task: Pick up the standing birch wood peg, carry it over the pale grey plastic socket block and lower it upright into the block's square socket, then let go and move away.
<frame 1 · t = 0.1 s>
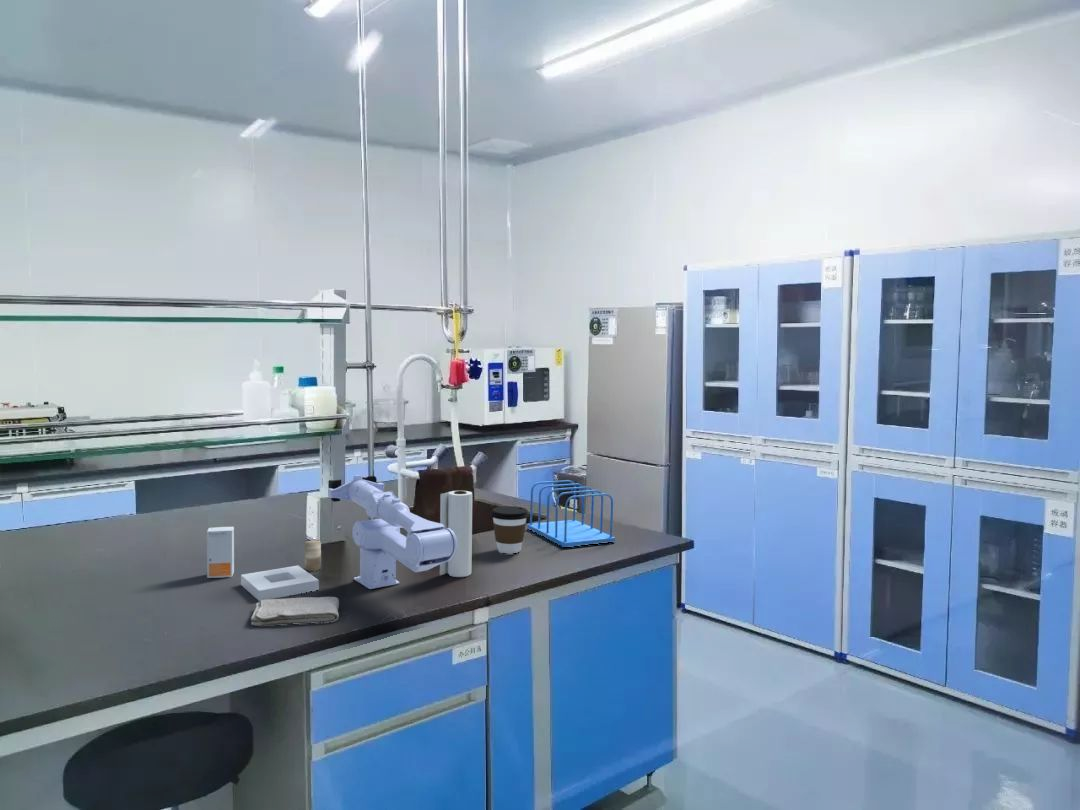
hand: (343, 482, 209), 22 cm above the lab bench, tool horizontal, fingers open, 7 cm apart
file sorter: (569, 537, 243), on the lab bench
coffee cup: (509, 552, 225), on the lab bench
birch peg: (313, 569, 205), on the lab bench
paper towel roll: (457, 574, 203), on the lab bench
skincare box: (221, 576, 198), on the lab bench
socket block: (279, 587, 190), on the lab bench
washcloth: (296, 618, 172), on the lab bench
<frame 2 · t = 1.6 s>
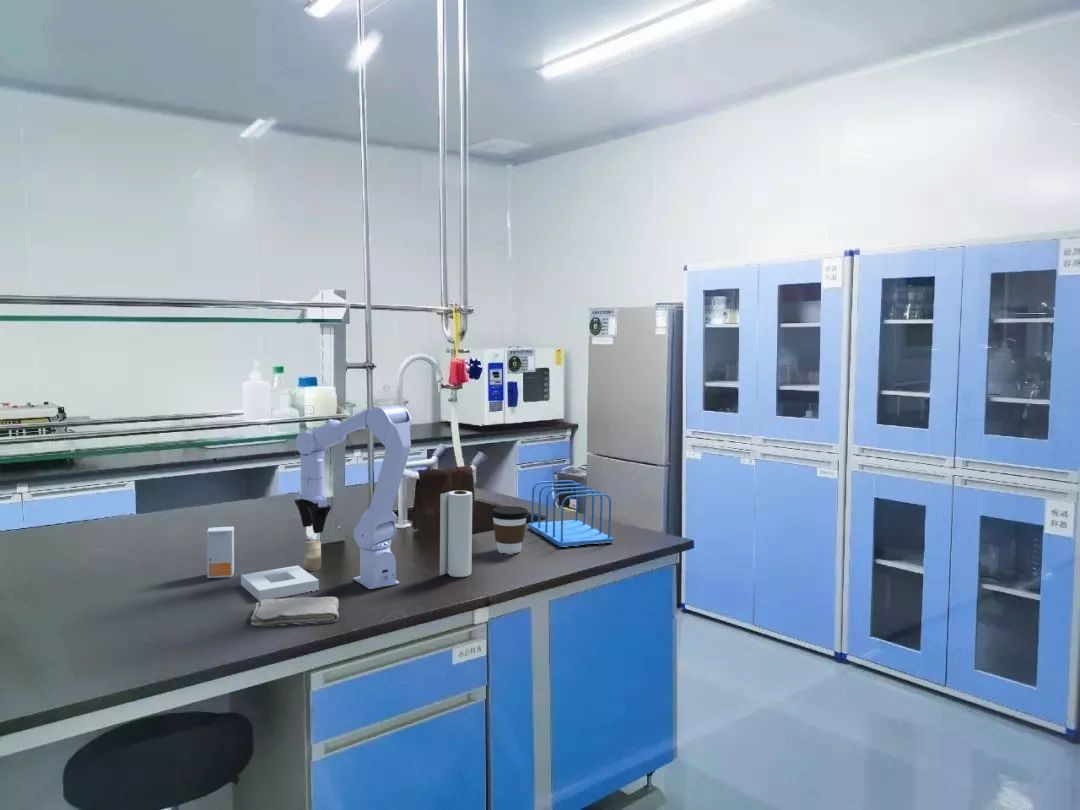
hand: (312, 529, 204), 10 cm above the lab bench, tool pointing down, fingers open, 7 cm apart
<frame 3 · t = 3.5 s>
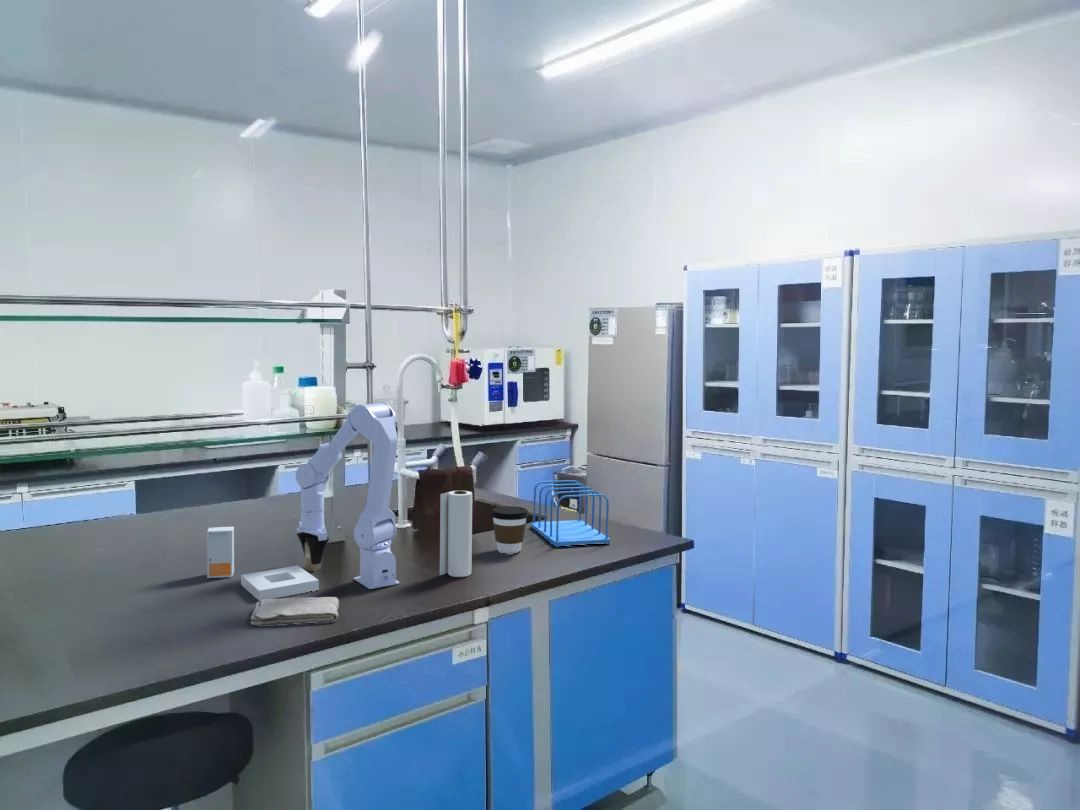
hand: (312, 561, 205), 2 cm above the lab bench, tool pointing down, fingers closed on birch peg, 4 cm apart
birch peg: (312, 568, 205), on the lab bench, touching gripper
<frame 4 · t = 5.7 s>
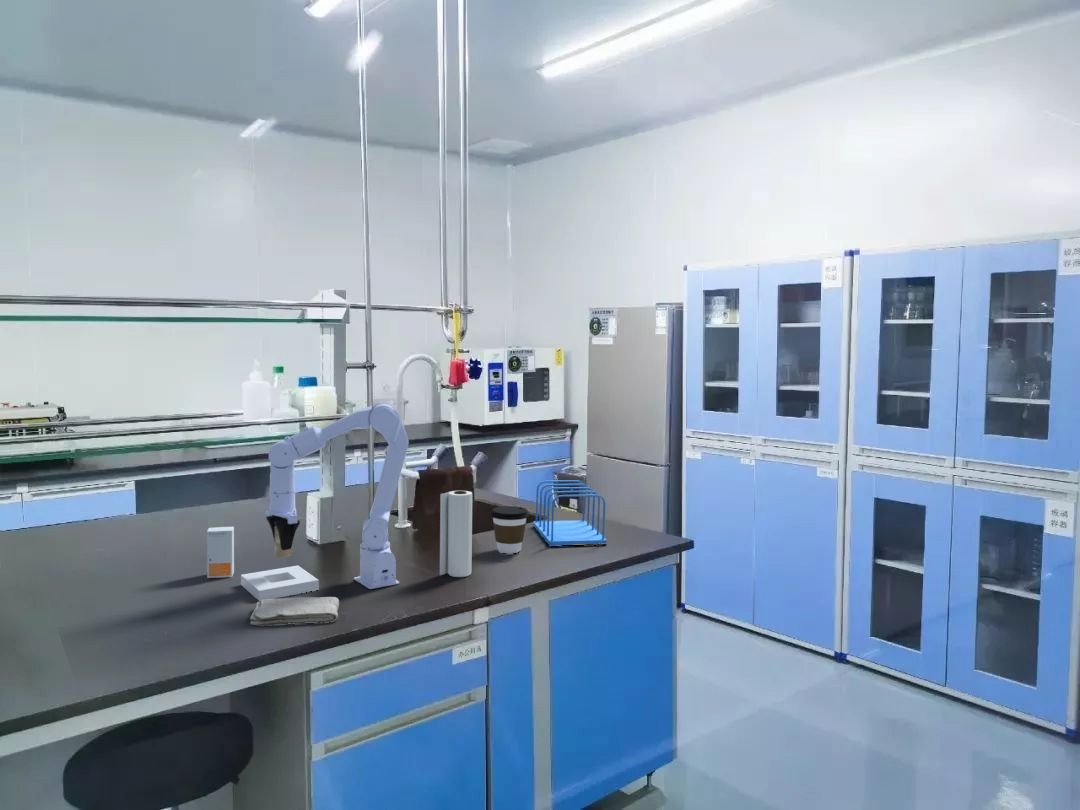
hand: (283, 547, 191), 9 cm above the lab bench, tool pointing down, fingers closed on birch peg, 4 cm apart
birch peg: (283, 554, 191), point 8 cm above the lab bench, touching gripper
when the fingers open (3 cm above the lab bench, at t = 7.8 s): birch peg drops 1 cm, resting in socket block.
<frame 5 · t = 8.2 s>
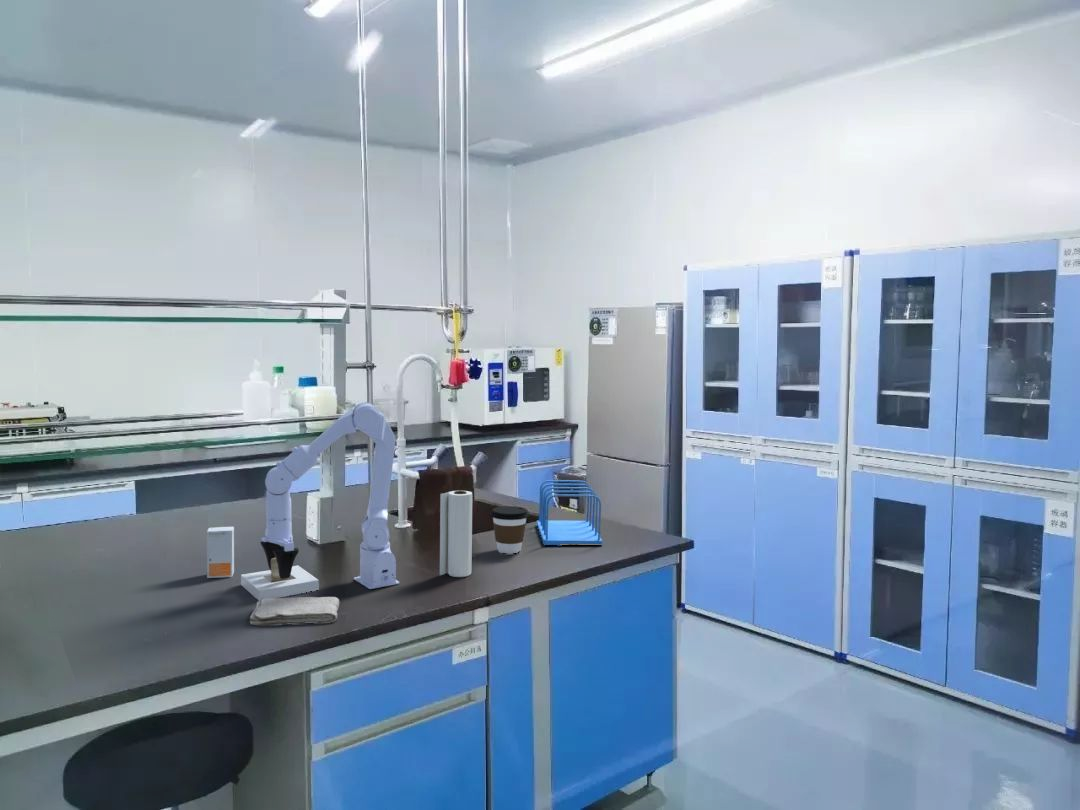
hand: (279, 573, 190), 3 cm above the lab bench, tool pointing down, fingers open, 7 cm apart
birch peg: (280, 587, 190), resting in socket block
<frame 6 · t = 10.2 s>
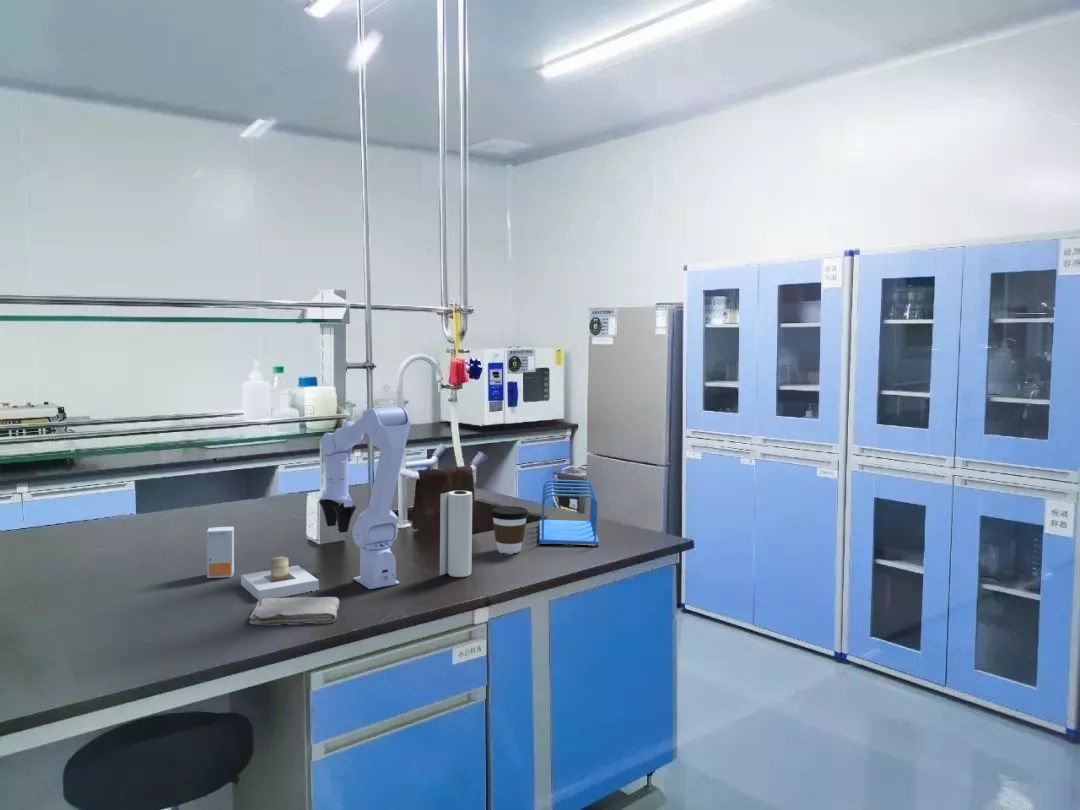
hand: (337, 528, 209), 9 cm above the lab bench, tool pointing down, fingers open, 7 cm apart
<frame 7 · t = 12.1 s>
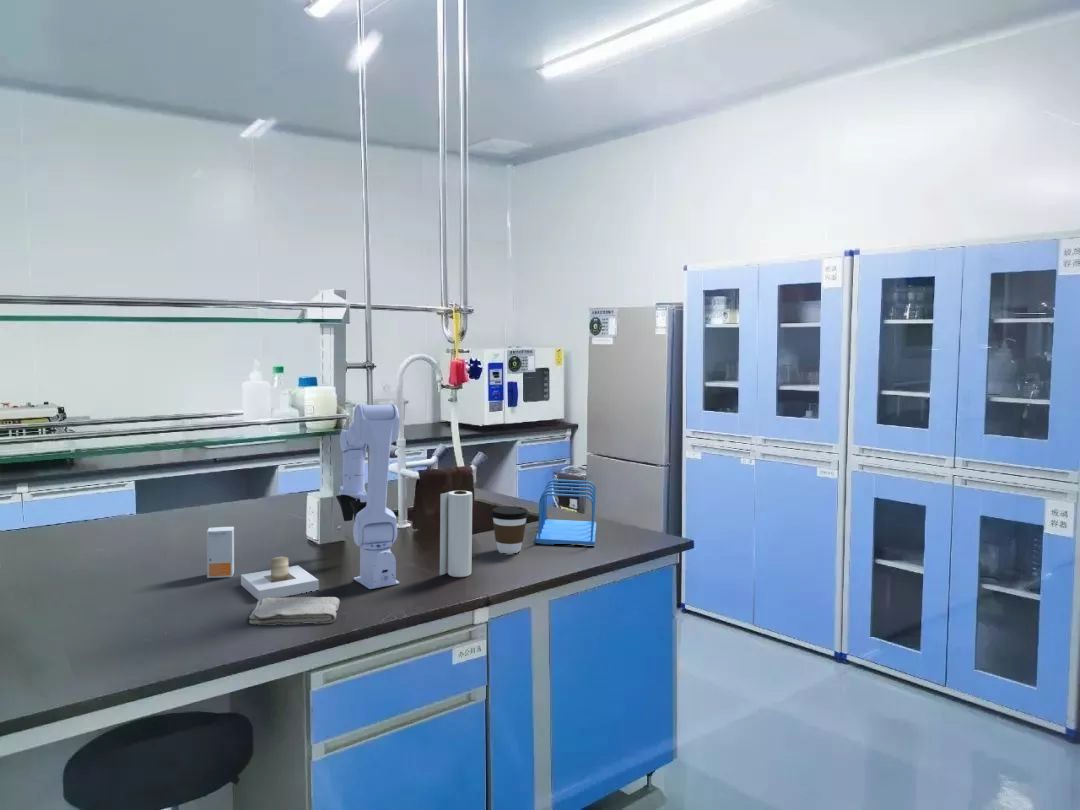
hand: (353, 523, 215), 9 cm above the lab bench, tool pointing down, fingers open, 7 cm apart
at the end: birch peg 0.1 cm off-centre on the socket block, point 0.0 cm above the socket block's base; birch peg tilted 0°; the gripper is holding nothing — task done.
